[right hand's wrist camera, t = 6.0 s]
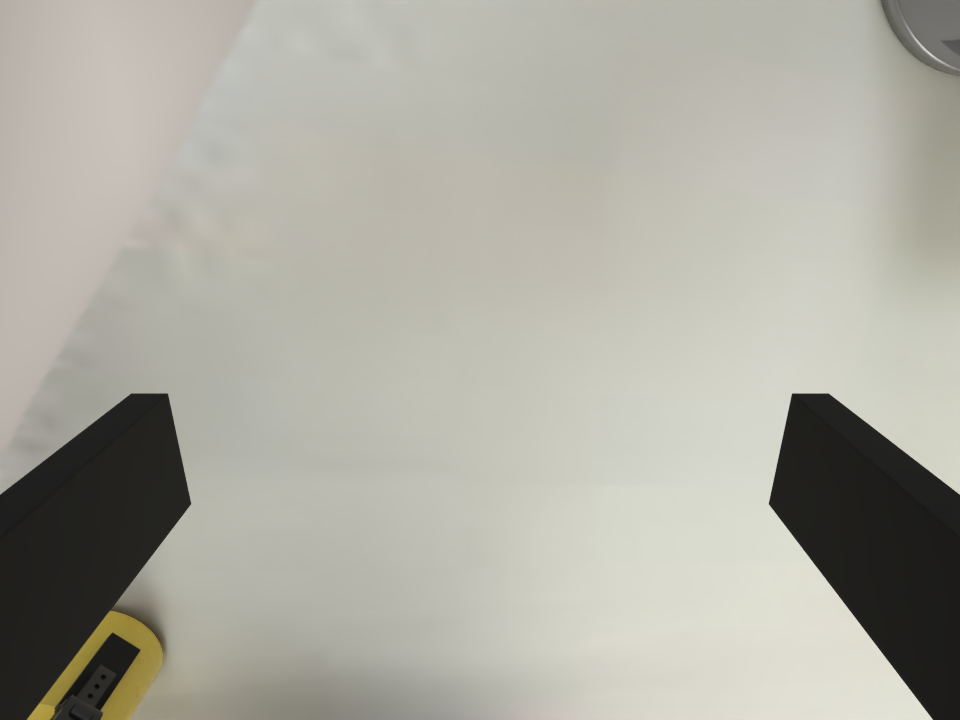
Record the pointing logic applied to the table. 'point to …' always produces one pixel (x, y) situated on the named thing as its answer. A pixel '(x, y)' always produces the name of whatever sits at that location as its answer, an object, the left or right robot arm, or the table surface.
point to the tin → (132, 682)
